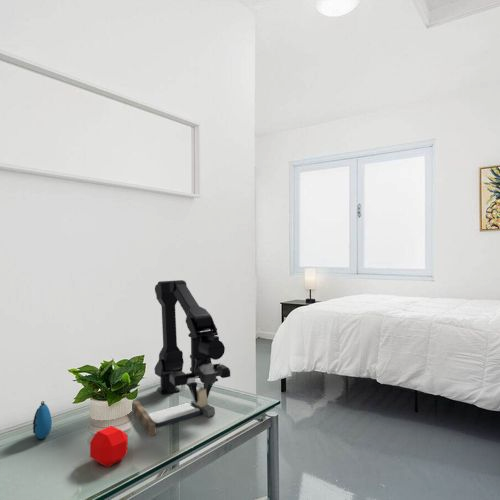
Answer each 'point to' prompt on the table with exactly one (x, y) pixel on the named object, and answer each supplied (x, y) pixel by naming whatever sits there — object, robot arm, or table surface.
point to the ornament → (42, 421)
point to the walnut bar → (144, 418)
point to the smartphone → (174, 414)
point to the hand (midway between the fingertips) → (200, 401)
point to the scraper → (203, 403)
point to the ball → (109, 446)
